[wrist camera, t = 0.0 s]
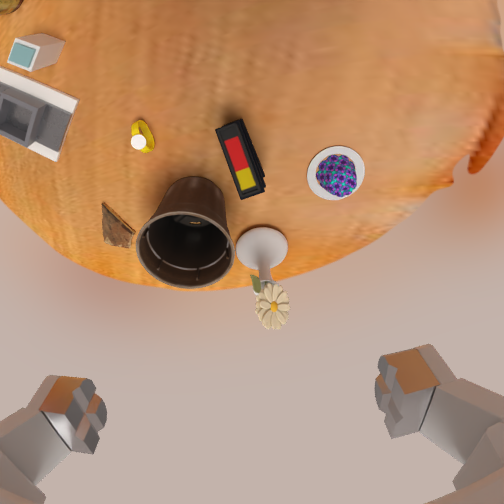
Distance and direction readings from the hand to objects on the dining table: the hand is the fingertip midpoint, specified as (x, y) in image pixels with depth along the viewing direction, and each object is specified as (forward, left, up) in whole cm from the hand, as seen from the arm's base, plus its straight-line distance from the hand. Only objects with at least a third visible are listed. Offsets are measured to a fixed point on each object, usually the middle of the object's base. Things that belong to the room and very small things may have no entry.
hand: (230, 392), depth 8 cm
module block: (+9, -34, -52) cm, 63 cm away
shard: (+40, -6, -53) cm, 67 cm away
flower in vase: (+26, +24, -52) cm, 63 cm away
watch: (+16, -8, -52) cm, 55 cm away
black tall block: (+9, +8, -52) cm, 54 cm away
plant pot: (+25, +7, -52) cm, 59 cm away
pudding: (+4, +27, -53) cm, 59 cm away
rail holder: (+23, -34, -52) cm, 66 cm away
